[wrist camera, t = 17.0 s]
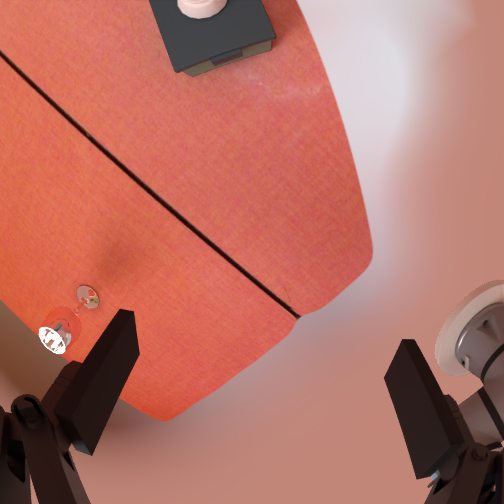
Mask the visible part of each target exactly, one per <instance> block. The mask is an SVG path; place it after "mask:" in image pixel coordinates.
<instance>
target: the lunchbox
mask: <svg viewBox="0 0 504 504" xmlns="http://www.w3.org/2000/svg"><path fill="white" fill-rule="evenodd" d="M149 2H150V5H151V8H152V11H153V13H154V16H155V19H156V22H157V24H158V27H159V30H160V33H161V36H162V38H163V41H164V44H165V47H166V49H167V52H168V55H169V58H170V60H171V63H172V66H173V68H174V71H175V72H176V73H179V72H181V71H183V72H184V73H186V74H188V75H190V76H191V77H194V76H196V75H199V74H201V73H204V72H207V71H209V70H212V69H215V68H217V67H220V66H223V65H226V64H229V63H232V62H235V61H238V60H241V59H244V58H247V57H250V56H253V55H257V54H260V53H263V52H267V51H270V50H271V44H272V40H274V39H276V34H275V32H274V30H273V27H272V25H271V22H270V20H269V18H268V15H267V13H266V11H265V9H264V6H263V4H262V2H261V0H227V2H226V4H225V6H224V7H223V8H222V9H221V10H220V11H219V12H218V13H217V14H215V15H213V16H211V17H207V18H201V19H197V18H191V17H188V16H187V15H185V14H183V13H182V11H181V10H180V8H179V7H178V1H177V0H149Z"/></svg>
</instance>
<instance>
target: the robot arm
mask: <svg viewBox="0 0 504 504" xmlns="http://www.w3.org/2000/svg"><path fill="white" fill-rule="evenodd" d="M139 355H140V352H139V346H138V339H137V331H136V324H135V315H134V311H129V310H124V309H119V311H118V312H117V313H116V315H115V316H114V318H113V319H112V321H111V322H110V323H109V325H108V326H107V328H106V329H105V331H104V332H103V333H102V335H101V336H100V338H99V339H98V341H97V342H96V344H95V345H94V347H93V348H92V350H91V351H90V353H89V354H88V356H87V357H86V359H85V360H84V362H83V363H80V362H77V361H74V360H73V361H72V362H70V363H69V364H67V365H66V366H64V368H63V369H62V371H61V372H60V374H59V376H58V377H57V378H56V379H55V381H54V384H52V385H51V387H50V388H49V390H48V391H47V393H46V394H45V396H44V397H43V399H42V400H41V402H40V401H39V399H38V398H36V397H35V396H33V395H30V394H25V395H21V396H19V397H17V398H16V399H15V400H14V401H13V403H12V405H11V412H12V413H8V412H5V411H4V409H3V408H2V407H1V406H0V504H32V503H31V489H30V475H31V479H32V482H33V486H34V489H35V492H36V496H37V498H38V502H39V504H91V503H90V501H89V499H88V497H87V494H86V492H85V490H84V487H83V485H82V482H81V480H80V478H79V475H78V472H77V470H76V467H75V465H74V462H73V459H72V456H71V453H70V451H69V450H68V449H69V447H70V445H71V443H72V444H73V446H74V448H75V449H76V450H78V451H80V452H83V453H86V454H88V455H91V456H92V455H93V453H94V451H95V448H96V446H97V444H98V441H99V439H100V437H101V435H102V432H103V430H104V428H105V426H106V423H107V421H108V419H109V417H110V415H111V413H112V411H113V408H114V406H115V404H116V402H117V400H118V398H119V396H120V393H121V391H122V389H123V387H124V385H125V383H126V381H127V379H128V377H129V375H130V373H131V371H132V369H133V367H134V365H135V363H136V361H137V359H138V357H139ZM455 356H456V358H457V360H458V362H459V363H460V364H461V365H462V366H463V367H464V368H465V369H467V370H468V371H469V372H471V373H472V374H474V375H475V376H477V377H478V378H480V380H481V381H482V383H483V385H484V386H483V387H482V388H480V389H479V390H478V391H477V392H475V393H474V394H473V395H471V396H470V397H469V398H468V399H466V400H465V401H463V402H462V403H461V404H459V405H457V403H456V401H455V400H454V399H453V398H452V397H451V396H450V395H449V394H448V395H443V393H442V391H441V389H440V387H439V385H438V383H437V381H436V379H435V377H434V375H433V373H432V371H431V369H430V367H429V365H428V363H427V362H426V360H425V358H424V356H423V354H422V352H421V350H420V348H419V347H418V345H417V343H416V341H415V340H414V339H402V341H401V343H400V346H399V347H398V350H397V352H396V354H395V356H394V358H393V360H392V362H391V364H390V366H389V369H388V371H387V373H386V375H385V377H384V379H385V382H386V385H387V388H388V391H389V394H390V397H391V399H392V402H393V405H394V408H395V411H396V414H397V417H398V420H399V423H400V426H401V429H402V432H403V435H404V439H405V442H406V445H407V448H408V452H409V455H410V458H411V461H412V465H413V469H414V472H415V475H416V479H421V478H426V477H430V476H431V478H432V479H433V481H432V482H431V483H430V484H429V485H428V488H429V487H430V486H432V485H433V487H432V489H431V491H430V493H429V495H428V497H427V499H426V501H425V503H424V504H504V448H503V446H502V444H501V442H502V441H503V440H504V303H502V302H497V303H493V304H490V305H488V306H486V307H485V308H483V309H482V310H480V311H479V312H478V313H477V314H476V315H474V316H473V317H472V318H471V320H470V321H469V322H468V323H467V324H466V326H465V327H464V328H463V330H462V332H461V333H460V335H459V337H458V339H457V342H456V346H455Z"/></svg>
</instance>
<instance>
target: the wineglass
mask: <svg viewBox="0 0 504 504" xmlns="http://www.w3.org/2000/svg"><path fill="white" fill-rule="evenodd" d="M77 297H78V300H79V301H80V302H81V303H80V305H79V306H78V307H76V308H74V309H73V310H71V309H70V308H67V307H57V308H55V309H53V310H52V311H51V312H50V313H49V314H48V315H47V316H46V318H45V320H44V322H43V323H42V326H41V328H40V331H39V335H40V338H41V340H42V342H43V343H44V345H45V346H46V347H47V348H48V349H50V350H51V351H53V352H55V353H58V354H61V353H63V352H65V351H66V350H67V349H69V348H70V347H71V346H72V345H73V344H74V343H75V342H76V341H77V340H78V338H79V336H80V334H81V329H82V326H81V321H80V319H79V317H78V315H77V314H78V312H79V310H80V308H81V307H82V305H84V306H85V307H87V308H90V309H93V308H96V307H97V306H98V304H99V298H98V295H97V294H96V292H95V291H94V290H93V289H92V288H90V287H88V286H85V285H83V286H80V287H79V288H78V289H77Z"/></svg>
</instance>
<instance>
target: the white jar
mask: <svg viewBox="0 0 504 504" xmlns="http://www.w3.org/2000/svg"><path fill="white" fill-rule="evenodd" d="M177 1H178V7H179V8H180V10H181V11H182V13H183V14H185V15H187V16H188V17H191V18H197V19H201V18H207V17H211V16H213V15H215V14H217V13H218V12H219V11H220V10H221V9H222V8H223V7H224V6H225V4H226V2H227V0H177Z"/></svg>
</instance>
